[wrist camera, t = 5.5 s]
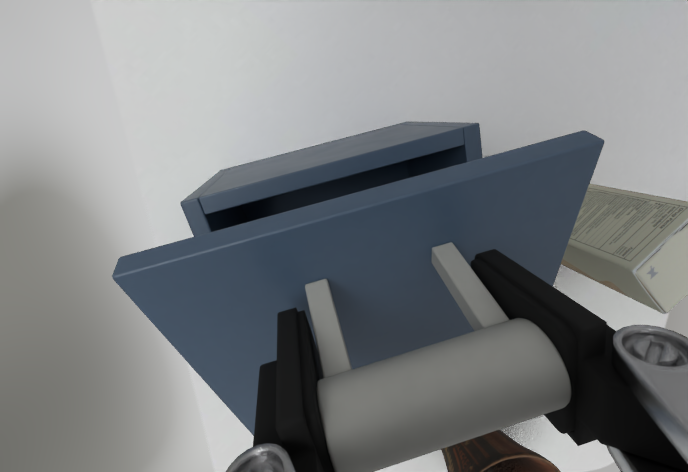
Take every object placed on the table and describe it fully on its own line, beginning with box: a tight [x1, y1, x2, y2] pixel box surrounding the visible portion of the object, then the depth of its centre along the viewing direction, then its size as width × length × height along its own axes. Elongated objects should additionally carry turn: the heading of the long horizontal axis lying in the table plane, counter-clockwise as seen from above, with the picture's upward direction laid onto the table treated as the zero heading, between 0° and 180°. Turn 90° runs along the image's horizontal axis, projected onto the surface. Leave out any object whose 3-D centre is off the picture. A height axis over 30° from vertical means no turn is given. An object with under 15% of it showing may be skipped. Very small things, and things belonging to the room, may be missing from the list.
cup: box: [441, 430, 560, 472], centre depth 30 cm, size 9×9×10 cm
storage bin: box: [181, 122, 482, 237], centre depth 22 cm, size 16×14×10 cm
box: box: [561, 184, 688, 314], centre depth 24 cm, size 5×4×11 cm
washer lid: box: [112, 131, 604, 472], centre depth 13 cm, size 16×14×6 cm
